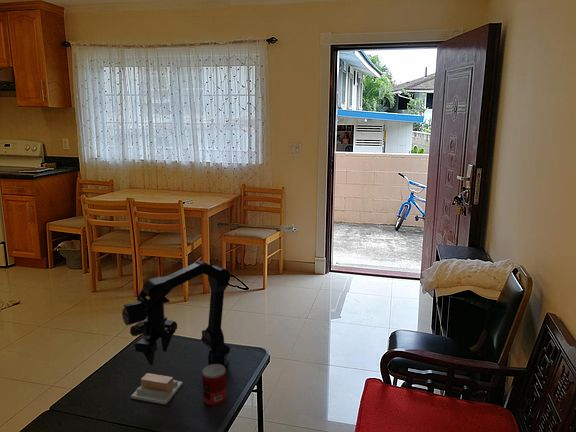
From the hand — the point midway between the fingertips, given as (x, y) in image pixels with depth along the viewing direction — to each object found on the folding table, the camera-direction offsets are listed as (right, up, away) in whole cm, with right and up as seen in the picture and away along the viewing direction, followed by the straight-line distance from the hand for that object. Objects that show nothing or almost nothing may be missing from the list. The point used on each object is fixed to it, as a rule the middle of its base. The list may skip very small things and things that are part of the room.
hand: (158, 358), depth 157 cm
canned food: (+20, -13, -3) cm, 24 cm away
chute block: (0, -11, +1) cm, 11 cm away
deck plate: (0, -12, +1) cm, 12 cm away
